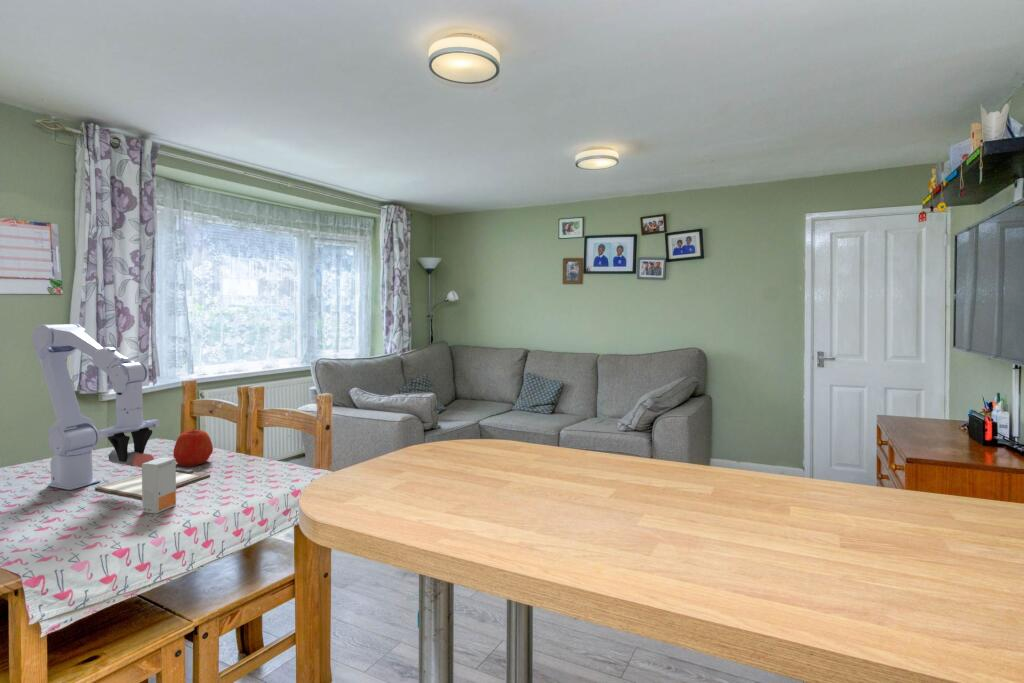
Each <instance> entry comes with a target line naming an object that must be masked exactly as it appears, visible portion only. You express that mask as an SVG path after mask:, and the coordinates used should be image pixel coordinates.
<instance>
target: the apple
mask: <svg viewBox="0 0 1024 683" xmlns="http://www.w3.org/2000/svg"><path fill="white" fill-rule="evenodd" d="M213 452H214V446H213V443H212V439H211V437H210V435H209V434H208V433H207V431H204V430H199V429H191V430H186V431H183V432H182V433H180V434H179V436H178V437H177V440H176V442H175V444H174V447H173V452H172V453H173V458H175V459H176V465H179V466H181V467H182V466H183V467H194V466H198V465H200V464H203V463H206V462H207V461H208V460H209V458H210V456H211V455H212V454H213Z"/></svg>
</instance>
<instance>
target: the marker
mask: <svg viewBox="0 0 1024 683" xmlns="http://www.w3.org/2000/svg"><path fill="white" fill-rule="evenodd" d="M151 460H154V456H153V455H152V454H149V453H145V452H144V453H138V452H134V451H131V450H127V461H126V462H121V461H119V459H118V456H117V453H116V451H115V449H113V450H111V451H110V452H109V454H108V461H109V462H110V463H113V464H118V465H125V466H129V467H135V468H141V469H142V464H143V463H146V462H149V461H151Z"/></svg>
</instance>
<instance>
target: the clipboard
mask: <svg viewBox="0 0 1024 683" xmlns="http://www.w3.org/2000/svg"><path fill="white" fill-rule="evenodd" d="M210 477H211V474H207V473H202V472H196V471H194V469H188V468H183V467H176V489H177V488H181V487H183V486H186V485H190V484H192V482H193V483H195V481H196V482H199V481H201V479H202V480H205V479H208V478H210ZM204 478H205V479H204ZM198 480H199V481H198ZM189 483H190V484H189ZM94 490H95V491H98V490H99V492H103V491H104V492H103V493H108V492H110V493H109V494H113V493H114V494H115V495H118V494H119V496H124V497H129V498H134V499H141V500H142V473H141V474H138V475H137V474H136V475H133V476H130V477H127V478H123V479H120V480H117V481H114V482H110V483H109V482H108V483H106V484H103V485H99V486H97V487H94Z"/></svg>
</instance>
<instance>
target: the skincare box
mask: <svg viewBox="0 0 1024 683" xmlns="http://www.w3.org/2000/svg"><path fill="white" fill-rule="evenodd" d="M153 459H154V458H153ZM176 465H177V462H176V459H175V458H174V457H159V458H156V459H154V460H151V461H149V462H146V463H143V464H142V468H141V474H142V499H141V501H142V502H141V504H142V506H141V508H142V510H141V511H142V513H146V514H154V515H155V514H159V513H161V512H164V511H166V510H168V509H170V508H173V507H176V505H177V488H176V468H177V467H176Z"/></svg>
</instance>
